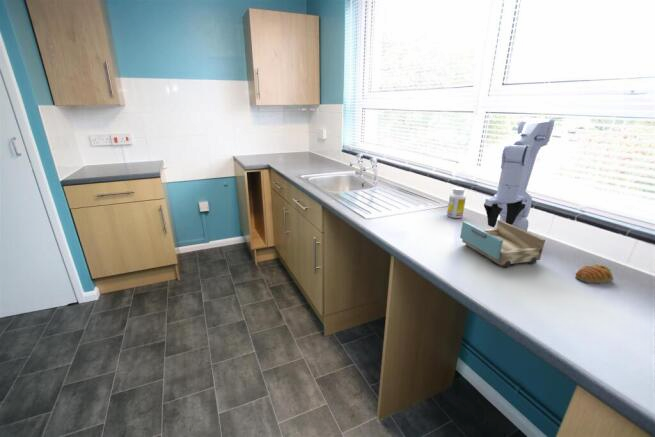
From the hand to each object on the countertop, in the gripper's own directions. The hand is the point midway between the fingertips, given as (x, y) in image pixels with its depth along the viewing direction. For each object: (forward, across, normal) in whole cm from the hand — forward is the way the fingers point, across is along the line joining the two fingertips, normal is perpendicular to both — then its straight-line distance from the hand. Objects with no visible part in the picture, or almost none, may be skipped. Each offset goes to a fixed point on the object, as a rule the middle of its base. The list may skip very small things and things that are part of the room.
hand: (500, 224), depth 102 cm
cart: (+10, -1, 0) cm, 10 cm away
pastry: (+11, -15, +22) cm, 28 cm away
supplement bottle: (+11, -14, -36) cm, 40 cm away
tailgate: (+7, +7, 0) cm, 10 cm away
